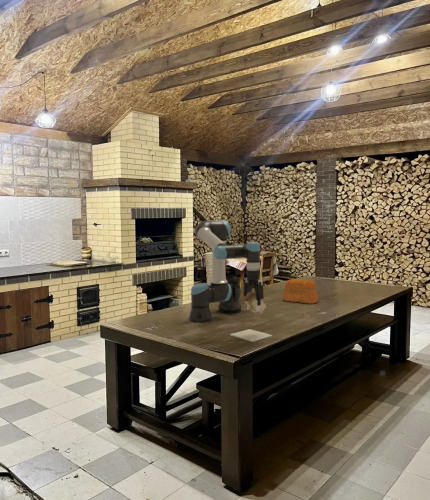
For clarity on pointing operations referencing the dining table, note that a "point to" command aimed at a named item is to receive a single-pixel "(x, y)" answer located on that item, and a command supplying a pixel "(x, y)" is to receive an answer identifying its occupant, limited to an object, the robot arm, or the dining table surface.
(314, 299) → the bread
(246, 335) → the felt mat
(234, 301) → the beer stein
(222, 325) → the dining table surface
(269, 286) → the dining table surface
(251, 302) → the oak block
